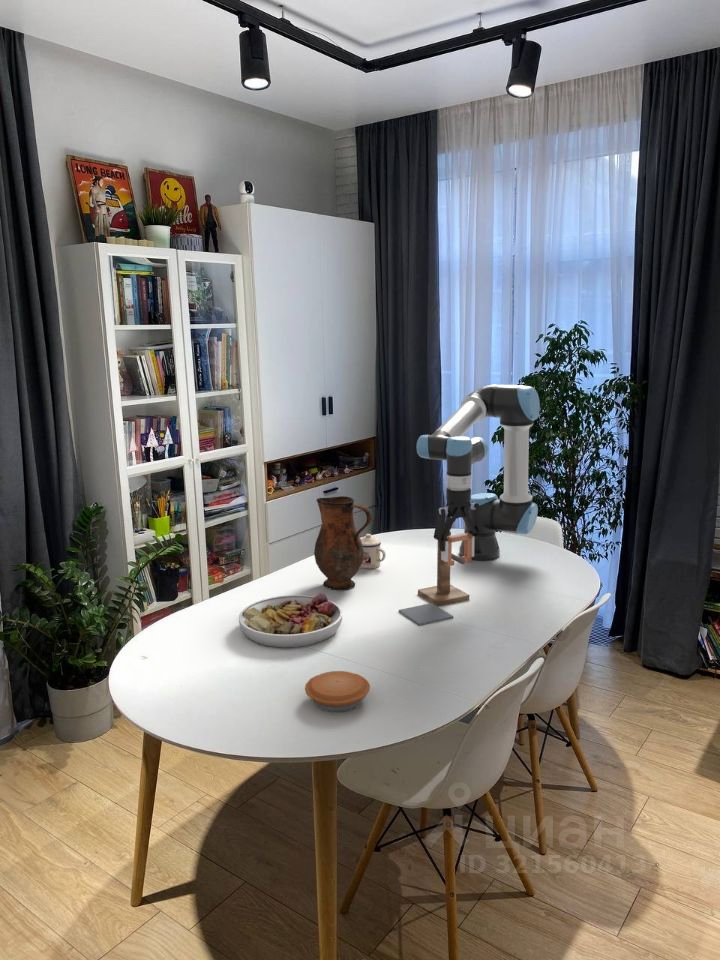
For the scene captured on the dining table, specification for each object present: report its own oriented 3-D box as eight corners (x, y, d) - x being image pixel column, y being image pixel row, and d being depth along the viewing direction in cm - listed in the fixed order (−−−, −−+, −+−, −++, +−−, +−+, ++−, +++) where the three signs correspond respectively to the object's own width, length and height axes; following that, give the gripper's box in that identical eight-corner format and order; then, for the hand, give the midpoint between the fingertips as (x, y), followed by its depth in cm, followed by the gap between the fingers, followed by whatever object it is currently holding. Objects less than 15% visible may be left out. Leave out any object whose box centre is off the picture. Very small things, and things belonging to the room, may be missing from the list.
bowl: (287, 662, 201) (286, 635, 200) (218, 631, 221) (217, 606, 220) (363, 627, 223) (363, 602, 221) (294, 602, 243) (293, 579, 241)
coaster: (431, 604, 239) (431, 602, 239) (453, 617, 229) (453, 616, 228) (398, 611, 234) (398, 609, 234) (419, 625, 223) (419, 623, 223)
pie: (373, 715, 174) (373, 695, 173) (305, 719, 173) (305, 699, 172) (367, 683, 189) (366, 665, 188) (304, 686, 188) (304, 667, 187)
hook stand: (417, 593, 248) (418, 529, 243) (448, 587, 253) (449, 524, 249) (445, 611, 234) (446, 542, 229) (477, 604, 239) (479, 537, 234)
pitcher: (332, 573, 268) (330, 491, 262) (384, 584, 257) (383, 498, 250) (304, 587, 255) (301, 501, 248) (357, 600, 243) (356, 509, 237)
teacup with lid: (351, 566, 276) (350, 535, 274) (366, 559, 283) (366, 529, 281) (377, 572, 269) (377, 541, 266) (392, 565, 276) (392, 535, 273)
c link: (467, 559, 239) (468, 532, 237) (471, 561, 237) (471, 534, 235) (443, 564, 235) (444, 536, 233) (447, 566, 234) (447, 538, 231)
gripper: (435, 494, 223) (434, 567, 228) (495, 485, 232) (493, 555, 238) (421, 489, 229) (421, 560, 234) (480, 481, 239) (479, 549, 244)
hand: (457, 558), depth 236 cm, fingers closed on c link, 9 cm apart
